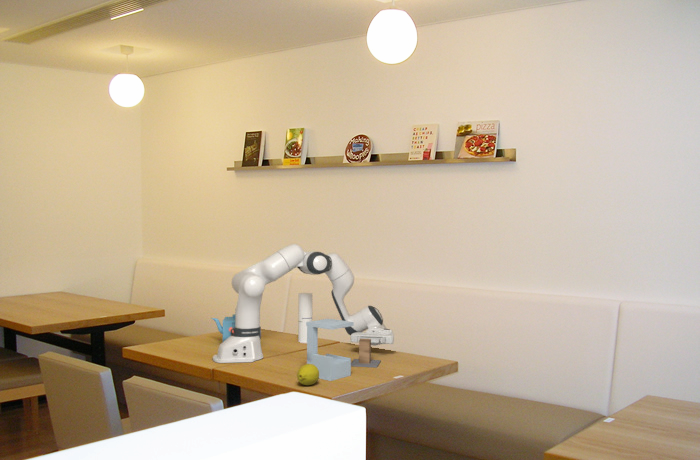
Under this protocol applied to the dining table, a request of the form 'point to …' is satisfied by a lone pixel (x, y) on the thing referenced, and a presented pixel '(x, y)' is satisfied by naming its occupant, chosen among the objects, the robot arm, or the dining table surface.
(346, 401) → the dining table surface
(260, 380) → the dining table surface
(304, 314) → the cylindrical container
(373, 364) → the felt mat
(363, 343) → the walnut block
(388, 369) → the dining table surface
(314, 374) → the lemon
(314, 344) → the grey cantilever stand
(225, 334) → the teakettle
